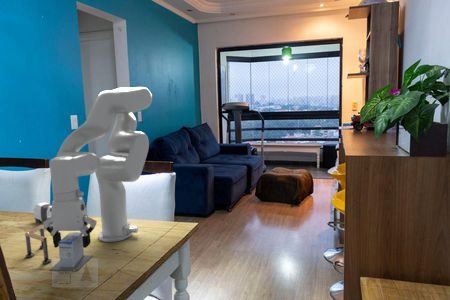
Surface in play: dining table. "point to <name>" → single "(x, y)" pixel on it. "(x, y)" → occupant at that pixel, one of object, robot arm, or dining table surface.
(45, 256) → the wooden l-shaped stand
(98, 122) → the robot arm
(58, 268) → the mat
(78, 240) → the medicine box
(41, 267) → the dining table surface
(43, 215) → the giant panda
